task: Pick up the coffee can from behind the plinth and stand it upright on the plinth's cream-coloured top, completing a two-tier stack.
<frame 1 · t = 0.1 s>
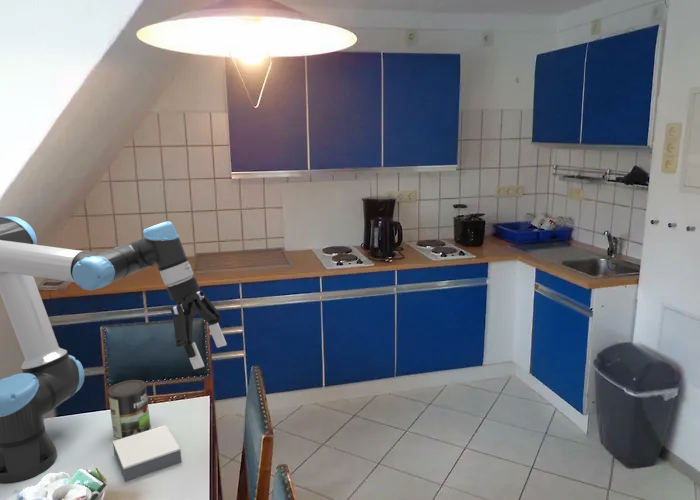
hand: (211, 356, 136), 28 cm above the table, tool tilted 20°, fingers open, 13 cm apart
coffee can: (132, 432, 153), on the table
plinth: (147, 458, 140), on the table
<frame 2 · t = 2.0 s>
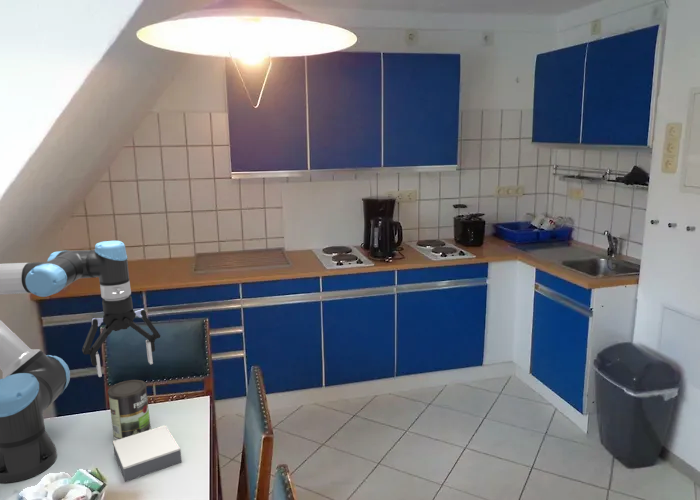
hand: (125, 368, 148), 20 cm above the table, tool pointing down, fingers open, 13 cm apart
nothing on the table moved.
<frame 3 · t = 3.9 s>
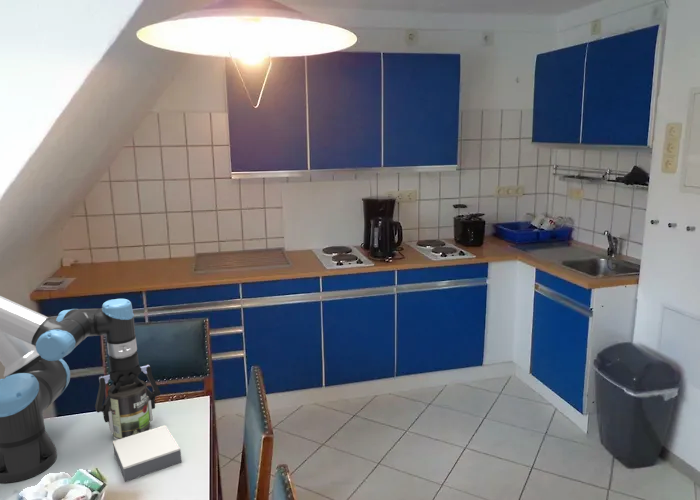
hand: (131, 424, 152), 2 cm above the table, tool pointing down, fingers closed on coffee can, 10 cm apart
coffee can: (132, 432, 153), on the table, touching gripper
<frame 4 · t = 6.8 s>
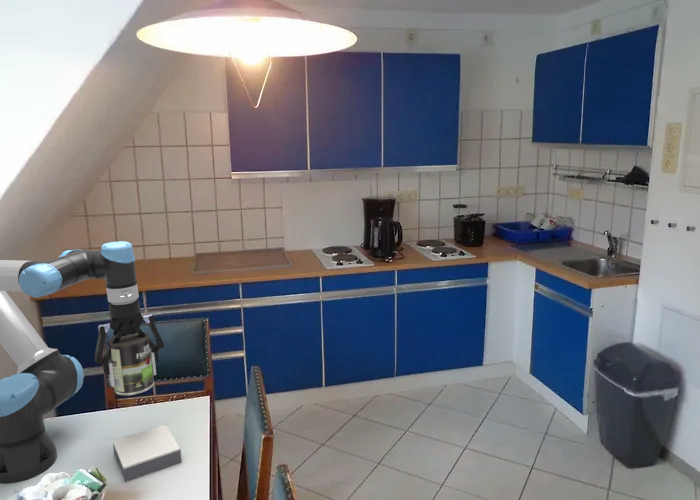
hand: (133, 379, 142), 20 cm above the table, tool pointing down, fingers closed on coffee can, 10 cm apart
coffee can: (134, 387, 142), point 17 cm above the table, touching gripper
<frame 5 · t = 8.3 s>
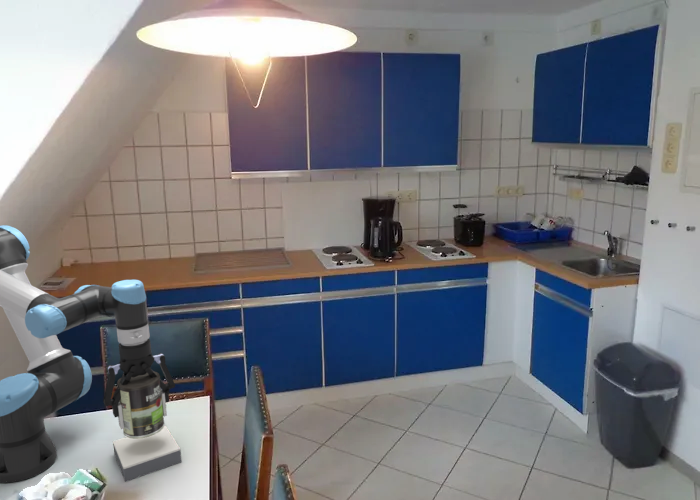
hand: (143, 420, 138), 11 cm above the table, tool pointing down, fingers closed on coffee can, 10 cm apart
coffee can: (144, 428, 138), point 9 cm above the table, touching gripper
when the fingers open (8 cm above the table, at t = 9.5 s): coffee can drops 1 cm, resting on plinth.
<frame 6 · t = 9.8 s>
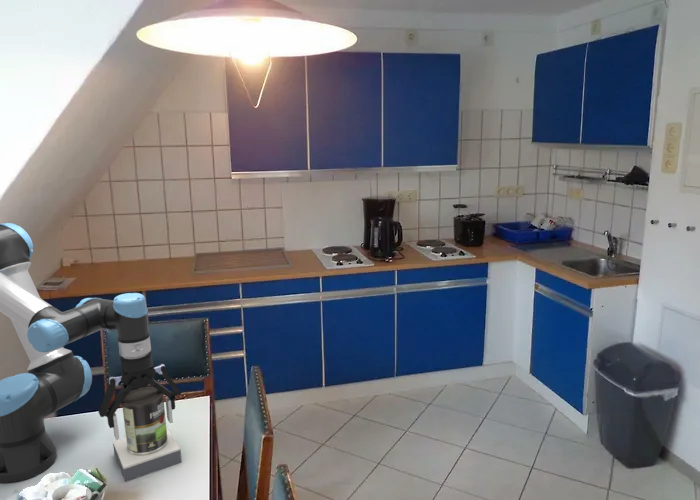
hand: (144, 428, 138), 9 cm above the table, tool pointing down, fingers open, 13 cm apart
coffee can: (147, 444, 139), point 4 cm above the table, touching plinth
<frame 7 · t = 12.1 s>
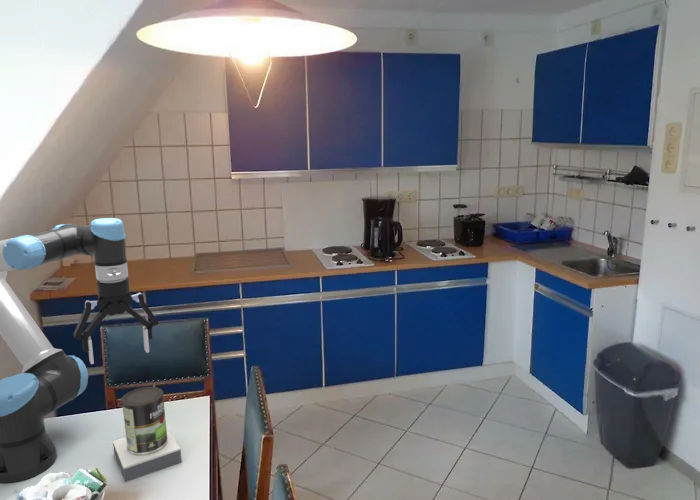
hand: (120, 356, 138), 27 cm above the table, tool pointing down, fingers open, 13 cm apart
nothing on the table moved.
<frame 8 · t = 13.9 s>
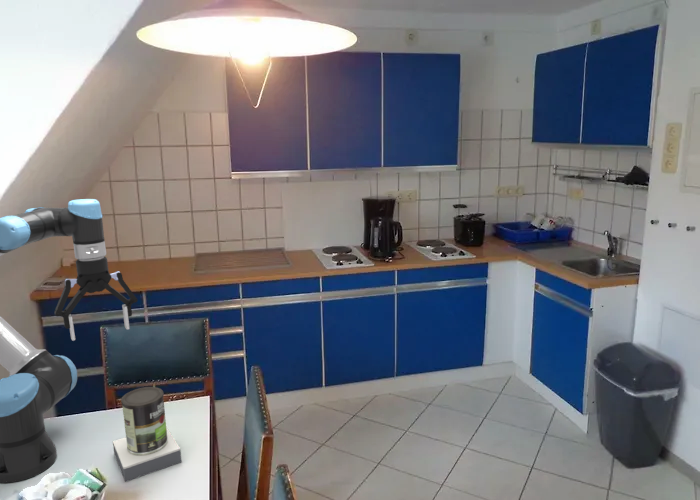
hand: (100, 333, 143), 32 cm above the table, tool pointing down, fingers open, 13 cm apart
nothing on the table moved.
at the end: coffee can inside the target area on the plinth (0.5 cm from its centre), point 3.8 cm above the plinth's base; coffee can tilted 0°; the gripper is holding nothing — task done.
